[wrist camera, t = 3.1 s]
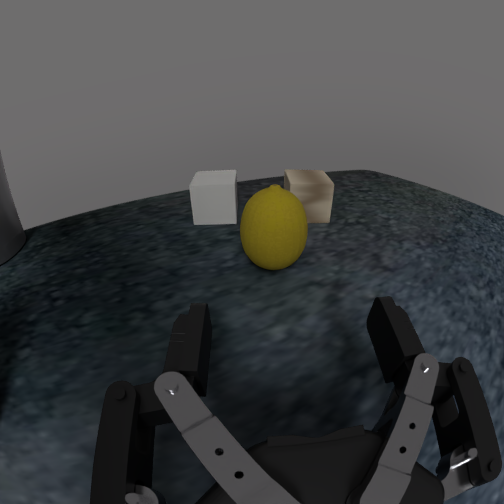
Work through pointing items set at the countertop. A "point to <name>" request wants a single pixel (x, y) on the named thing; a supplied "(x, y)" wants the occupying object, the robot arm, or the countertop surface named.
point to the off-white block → (214, 197)
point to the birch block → (311, 193)
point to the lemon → (273, 228)
